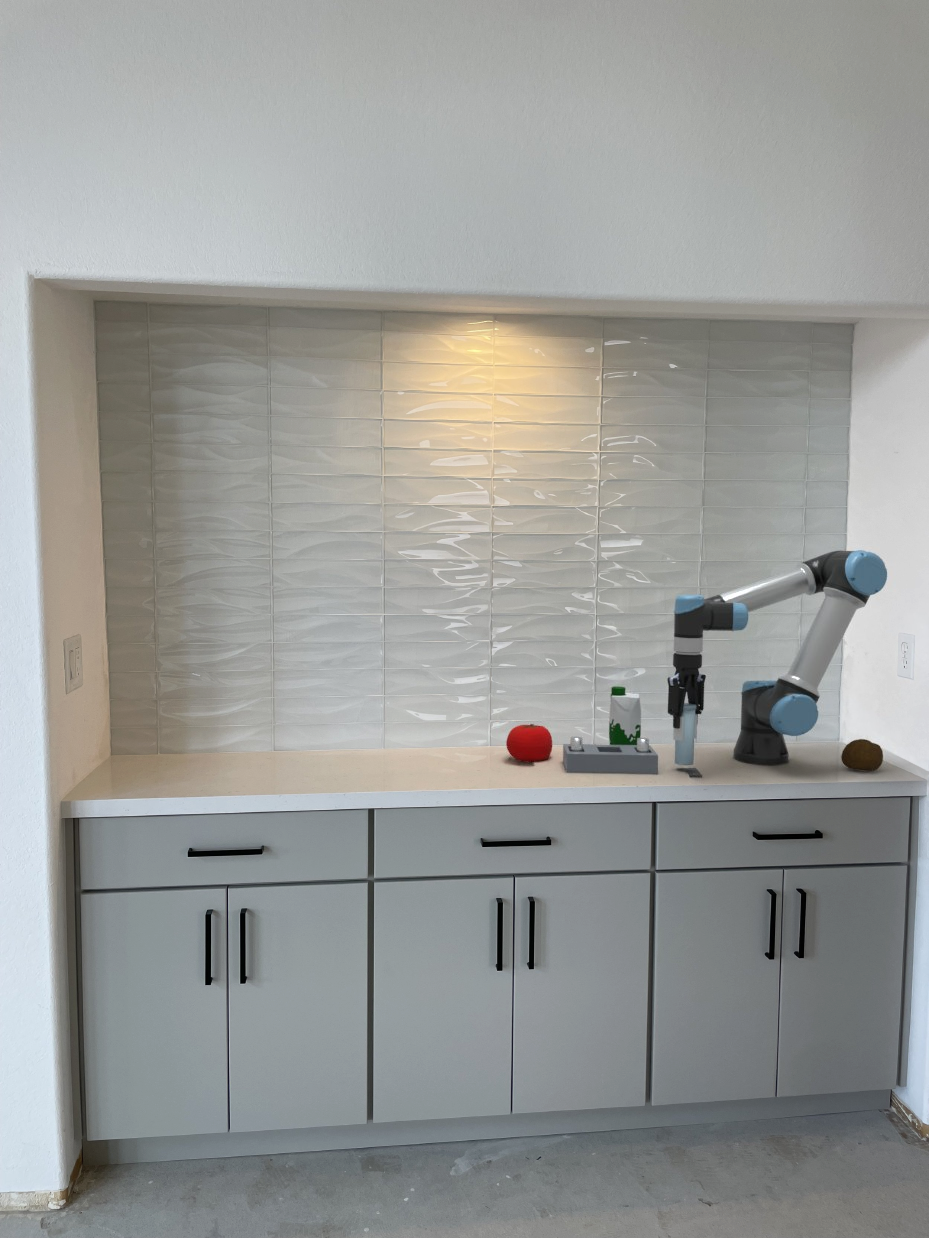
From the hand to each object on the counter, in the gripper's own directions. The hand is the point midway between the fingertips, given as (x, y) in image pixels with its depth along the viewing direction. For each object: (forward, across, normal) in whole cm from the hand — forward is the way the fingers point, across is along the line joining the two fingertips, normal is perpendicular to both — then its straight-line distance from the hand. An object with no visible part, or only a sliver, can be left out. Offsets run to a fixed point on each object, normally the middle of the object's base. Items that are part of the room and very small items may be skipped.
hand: (684, 738), depth 242 cm
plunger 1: (+7, +22, -19) cm, 30 cm away
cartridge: (+7, 0, 0) cm, 7 cm away
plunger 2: (+7, +8, -8) cm, 13 cm away
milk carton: (+10, -3, -24) cm, 26 cm away
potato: (+10, -44, +27) cm, 52 cm away
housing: (+10, +15, -14) cm, 22 cm away
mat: (+10, 0, 0) cm, 10 cm away
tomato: (+10, +24, -36) cm, 44 cm away
